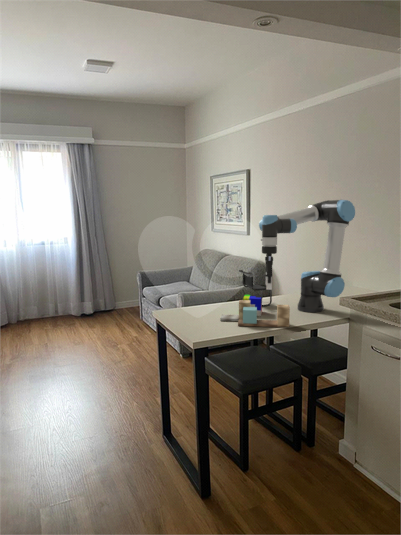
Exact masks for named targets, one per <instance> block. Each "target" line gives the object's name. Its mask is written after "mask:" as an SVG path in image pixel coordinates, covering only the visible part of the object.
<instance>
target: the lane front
mask: <svg viewBox="0 0 401 535" xmlns="http://www.w3.org/2000/svg"><path fill="white" fill-rule="evenodd" d="M290 310H291V308H290V304H277V305H276V319H275V320H273V319H257V324H247V323H243V319H239V321H237V326H238V327H263V328H264V327H267V328H268V327H271V328H278V327H283V328H285V327H287V328H289V327H290V312H291V311H290Z"/></svg>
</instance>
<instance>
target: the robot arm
mask: <svg viewBox="0 0 401 535" xmlns="http://www.w3.org/2000/svg"><path fill="white" fill-rule="evenodd" d="M355 216H356V208H355V206H354V203H353V202H352V201H350V200H348V199H335V200H334V199H333V200H332V199H331V200H323V201H320V202H316V203H314V204H310V205H309V206H307V207H305V208H302V209H300V210H294V211H292V212H287V213H284V214H280V215H277V214H263V216H262V219H260V221H259V223H258V228H259V230H260V231H261V239H260V241H261V245H262V246H261V253H262V254H264V255H266V256H265V257H264V260H265V286H266V287H265V288H266V290H269V291H270V290H273V265H274V262H273V261H274V256H273V255H275V254H277V253H278V246H277V245H278V234H291V233H292V234H294V233H295V232H296V230H297V228H298V225H300V224H304V223H308V222H314V223H315V222H318V221H319V222H320V221H324V222H326V224H327V226H329V227H328V233H327V239H326V240H327V241H326V248H325V253H324V261H323V268H322V270H311V271H309V270H308V271H303V272H302V273H301V274H300V276H301V277H300V298H299V300H298V303H297V310H298V311H301V312H304V313H305V312H306V313H320V312H324V309H325V306H324V302H323V300H322V299H323V298H322V296H324V297H327V298H336V297H339V296H340V295H341V294H342V293H343V292H344V290H345V280H344V279H343V278H342V273H341V271H340V268H341V261H342V254H343V252H342V251H343V249H344V248H343V247H344V246H343V245H344V241H345V240H344V239H345V232H346V228H348V227H349V224H350V222H351V221H353V220H354V218H355ZM266 290H265V291H266Z"/></svg>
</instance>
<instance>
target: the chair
mask: <svg viewBox="0 0 401 535" xmlns="http://www.w3.org/2000/svg"><path fill="white" fill-rule="evenodd" d="M238 272H239V273H241V274H242V286H243V287H245V288H250V289H251V290H252V291H256V292H257V291H260V295H262V299H263V291H266V287H264V286H262V285H261V284H254V275H253V273H252V272H247V271H244V270H243V269H239V270H238ZM248 275H250V276H248ZM272 290H273V289H272ZM272 290H269V303H268V304H262V308H263V307H269V306H271V304H272V302H273V301H272V300H273V292H272Z"/></svg>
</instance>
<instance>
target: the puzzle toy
mask: <svg viewBox="0 0 401 535" xmlns="http://www.w3.org/2000/svg"><path fill="white" fill-rule="evenodd" d="M242 300H250V307H257V317H262V313H263V307H262V305H263V298H262V295H261V294H244V296H243V298H242Z"/></svg>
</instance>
